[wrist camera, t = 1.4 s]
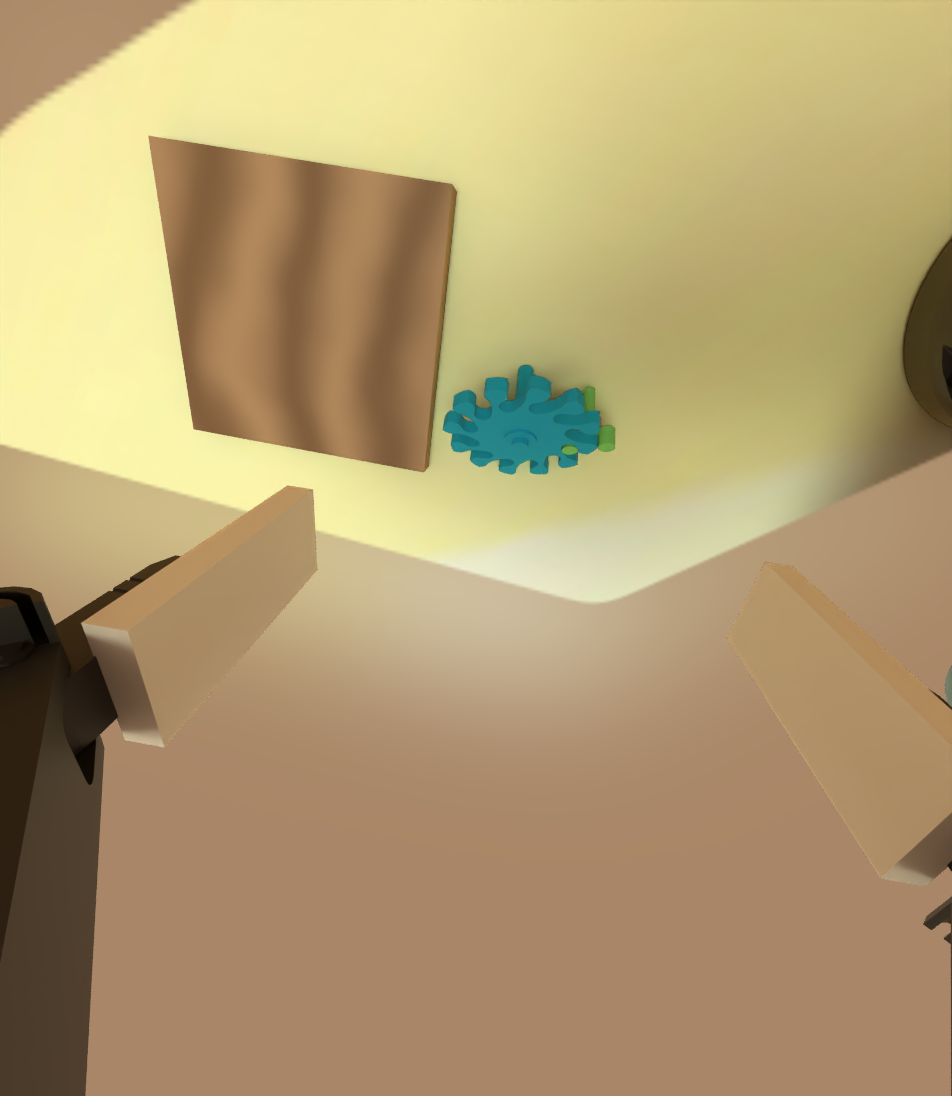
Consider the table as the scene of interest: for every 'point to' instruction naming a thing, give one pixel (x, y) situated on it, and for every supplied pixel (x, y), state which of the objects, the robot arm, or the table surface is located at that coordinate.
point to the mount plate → (307, 299)
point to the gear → (527, 424)
